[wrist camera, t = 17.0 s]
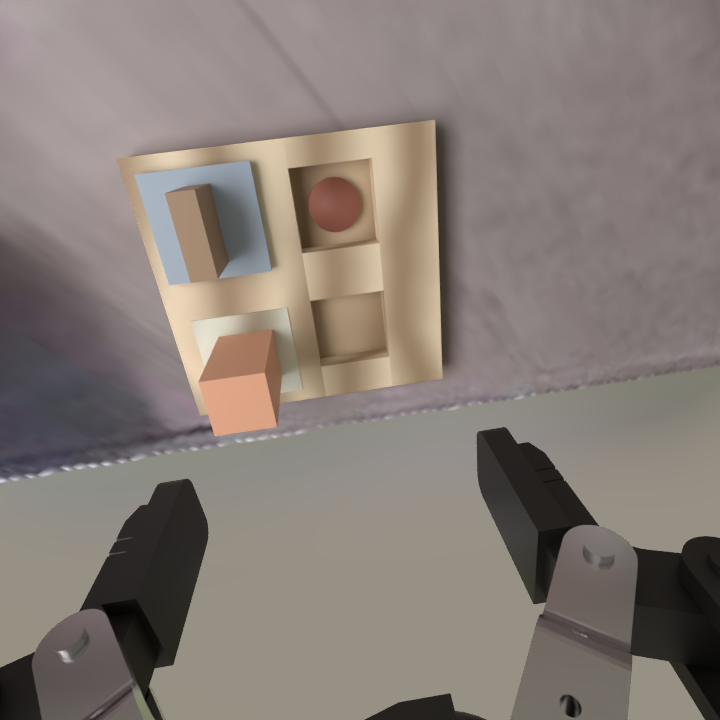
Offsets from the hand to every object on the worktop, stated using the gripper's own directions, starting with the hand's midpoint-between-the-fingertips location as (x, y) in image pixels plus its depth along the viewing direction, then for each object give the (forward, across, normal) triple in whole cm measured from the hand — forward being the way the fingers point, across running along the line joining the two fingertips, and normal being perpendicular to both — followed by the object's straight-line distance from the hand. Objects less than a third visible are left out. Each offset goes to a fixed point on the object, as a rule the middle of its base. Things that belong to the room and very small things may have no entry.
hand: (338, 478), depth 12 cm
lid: (+21, +7, -5) cm, 23 cm away
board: (+24, +2, 0) cm, 24 cm away
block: (+21, +7, +5) cm, 23 cm away
